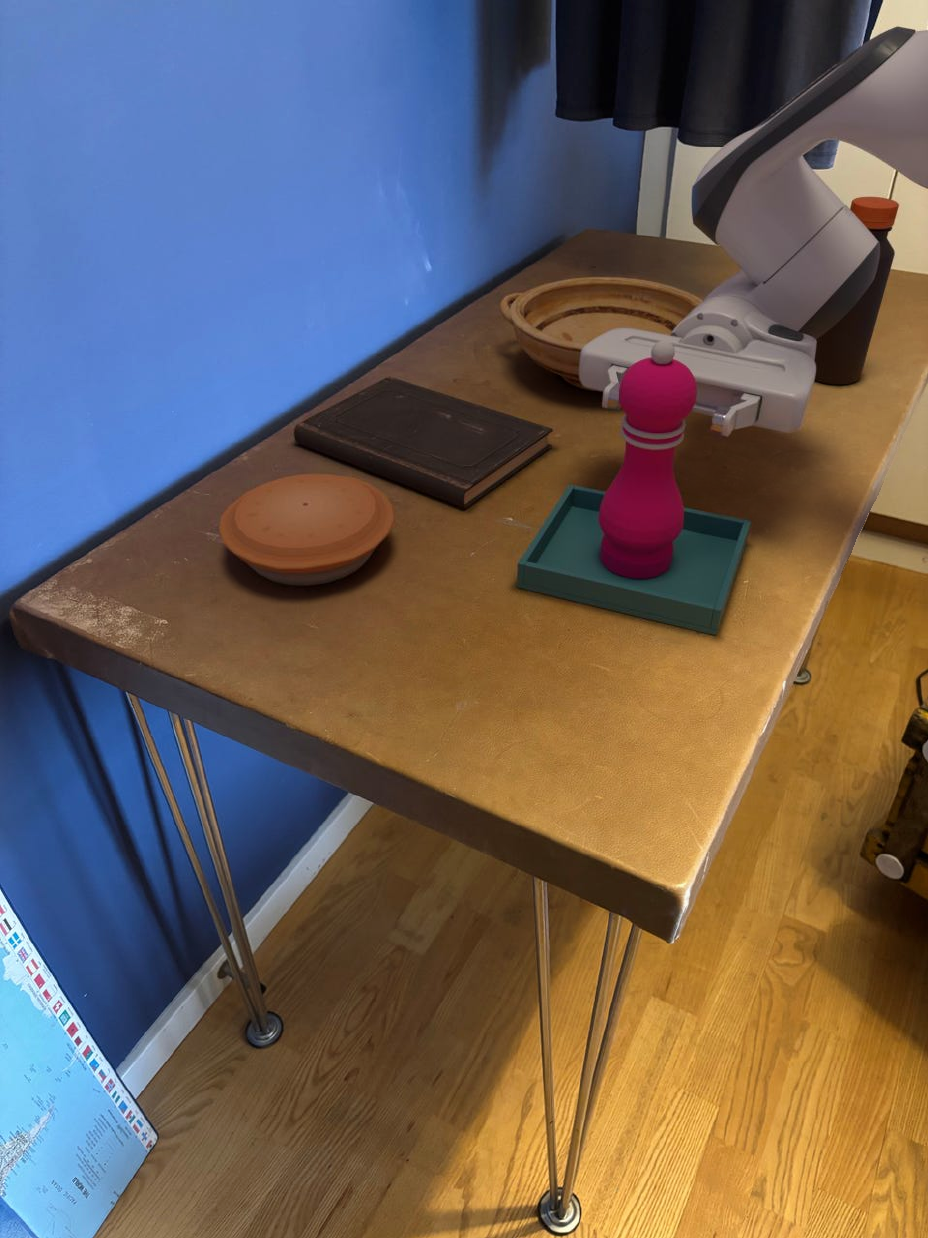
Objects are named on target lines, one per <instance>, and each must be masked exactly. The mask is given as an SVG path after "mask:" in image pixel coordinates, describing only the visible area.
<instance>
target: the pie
mask: <svg viewBox="0 0 928 1238" xmlns="http://www.w3.org/2000/svg"><path fill="white" fill-rule="evenodd" d="M390 501H391V500H389V498H388V496H387V495H386V494H385V493H383V492H382V491H381V490H379V489H378V488H377V487H375V486H374V485H372V484H370V483H368V482H366V481H364V480H362V479H359V478H356V477H353V476H346V475H336V474H329V473H304V474H295V475H294V474H293V475H289V476H285V477H280V478H277V479H274V480H271V481H267V482H265V483H262V484H260V485H258V486H256V487H254V488H252V489H250V490H248V491H246V492H244V493H243V494H242V495H241V496H239V497H238V498H237V499H235V500H234V501H233V502H232V503H231V504H230V505H229V506H228V507H227V509H225V511H224V512H223V513H222V515H221V516H220V520H219V525H218V526H219V527H218V532H219V536H220V538H221V541H222V544H223V545H224V546H225V547H226V548H227V549H228V550H229V551H230V552H231V553H232V554H233V555H234V556H236V557H237V558H238V559H240V560H241V561H243V562H245V563H246V564H247V565H248V566H249V567H250V568H252V569H253V570H254V571H255V572H256V573H257V574H258V575H259V576H260V577H263V578H265V579H267V580H269V581H272V582H274V583H277V584H282V585H287V586H296V587H299V586H301V587H302V586H303V587H311V586H317V585H324V584H328V583H332V582H334V581H339V580H341V579H344V578H346V577H348V576H349V575H352V574H353V573H355V572H357V571H358V570H359V569H360V568H361V567H362V566H363V565H364V564H365V563H366V562H367V561H369V559H370V558H371V556H372V554H373V553H374V551H375V550H376V548H377V546H379V544H380V543H382V542H383V540H385V539H386V538H387V536H388V535H389V533H390V532H391V530H392V528H393V526H394V523H395V521H396V518H395V511H394V509H395V508H394V506H393V505H392V503H391V502H390Z"/></svg>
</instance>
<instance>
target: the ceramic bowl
mask: <svg viewBox="0 0 928 1238" xmlns="http://www.w3.org/2000/svg"><path fill="white" fill-rule="evenodd" d="M703 301H704V300H702V299H701V298H699V296H696V295H694V294H692V293H691V292H688V291H686V290H684V289H681V288H678V287H674V286H671V285H668V284H665V283H659V282H655V281H652V280H644V279H637V278H628V277H616V276H615V277H613V276H588V277H577V278H569V279H568V278H567V279H562V280H557V281H552V282H549V283H544V284H541V285H538V286H534V287H533V288H530V289H528V290H527V291H524V292H515V293H514V292H513V293H511V294H508V295H505V296H504V297H503V298H502V300H501V301H500V303H499V311H500V314H501V315H502V316H503V318H504V319H505V320H506V321H507V322H508V323H509V324H511V325H512V326H513V329H514V332H515V337H516V339H517V341H518V344H519V346H521V348H522V349H523V351H524V352H525V354H526V355H527V356H528V357H529V358H530V359H531V360H532V361H534V363H536V364H537V365H539V366H540V367H542V368H544V370H545V369H546V370H547V371H548V372H551V373H554V374H556V375H559V376H561V377H562V378H563V379H564V381H566V382H568V383H569V384H570V385H573V386H575V387H577V388H580V389H583V390H587V391H592V392H598V393H599V392H600V393H603V391H599V390H594V389H590V388H586V387H584V386H583V385H582V383H581V382H580V380H579V361H580V354H581V350H582V348H583V347H584V346H585V345H586V344H587V343H589V342H590V341H592V340H593V339H595V338H597V337H598V336H600V335H602V334H604V333H606V332H608V331H610V330H612V329H616V328H634V329H640V330H645V331H650V332H655V333H660V334H665V335H670V334H671V333H672V331H673V330H674V328H675V327H676V326H677V325H678V324H679V323H680V322H681V321H682V320H683V319H684V318H685V317H686V316H687V315H688V314H689V313H690V312H691V311H692V310H693V309H694V308H695V307H696V306H698V305H699V304H700V303H702V302H703ZM509 305H510V307H509Z"/></svg>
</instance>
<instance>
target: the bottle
mask: <svg viewBox="0 0 928 1238" xmlns="http://www.w3.org/2000/svg"><path fill="white" fill-rule="evenodd" d="M899 207H900V204H899V202H898V201H896V200H894V199H891V198H886V197H880V196H860V197H856V198H853V199H852V200H851V203H850V207H849V209H850V210H851V211H852V212H853V213H854V214H855V215H856V216H857V218H858V219H859V220H860V221H861V222H862V223H863V224H864V225H865V226H866V228H867V229H868V230H869V231H870V232H871V233H872V234H873V236H874V237H875V238H876V239H877V241H879V243H880V257H879V263H878V267H877V271H876V275H875V278H874V280H873V282H872V283H871V285H870V286H869V287H868V289H867V290H866V291H865V293H864V294H863V295H862V297H861V298H860V299H859V301H858V302H857V303H856V304H855V305H854V306H853V308H852V309H851V310H850V311H849V312H848V313H847V314H846V315H845V316H844V317H843V318H842V319H841V320H840V321H839V322H838V323H837V324H835V325H834V326H833V327H832V328H831V329H830V330H828V331H827V332H826V333H824V334H823V335H822V336H820V337H819V338H817V339H816V341H817V343H816V353H815V360H814V362H815V364H816V375H815V380H814V381H817V382H819V383H822V384H827V385H838V386H841V385H842V386H843V385H849V384H853V383H856V382H857V381H858V380H859V379H860V377H861V376H862V374H863V369H864V366H865V362H866V359H867V357H868V353H869V348H870V345H871V341H872V337H873V334H874V330H875V327H876V323H877V320H878V316H879V312H880V310H881V309H880V308H881V305H882V301H883V298H884V294H885V291H886V288H887V284H888V280H889V277H890V273H891V269H892V266H893V262H894V259H895V254H896V251H895V249H894V247H893V245H892V244H891V242H890V241H889V239H888V236H889V233H890V232H891V231H892V230H893V227H894V225H895V223H896V218H897V215H898V212H899Z"/></svg>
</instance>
